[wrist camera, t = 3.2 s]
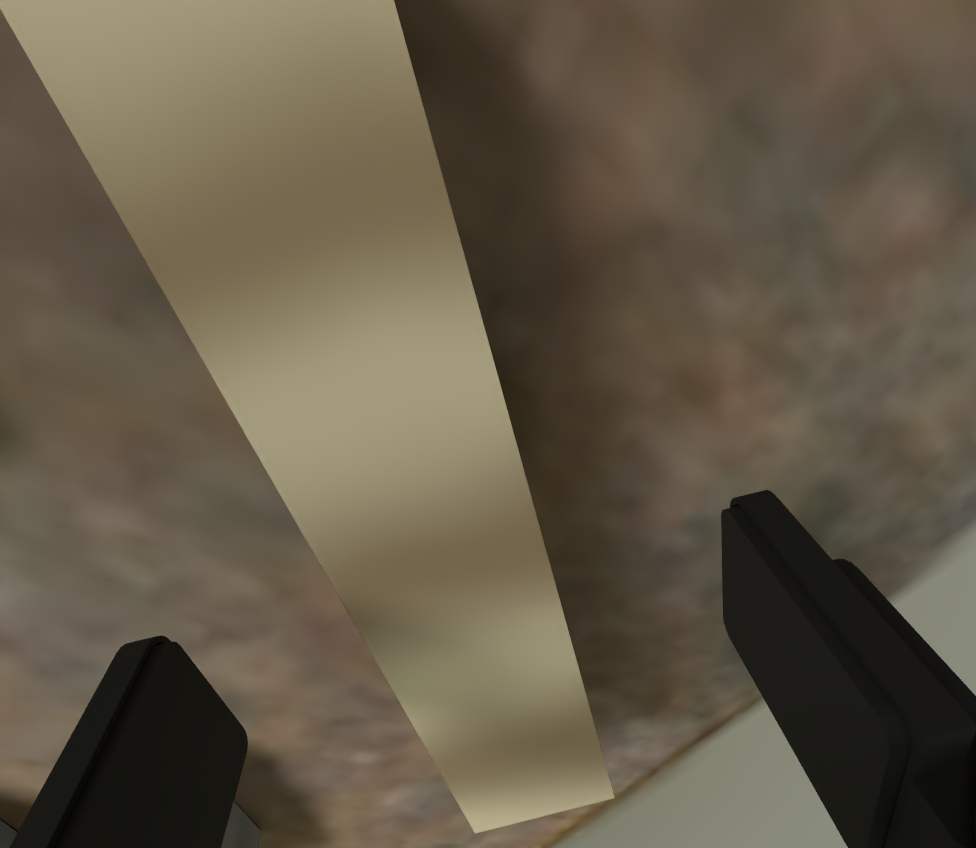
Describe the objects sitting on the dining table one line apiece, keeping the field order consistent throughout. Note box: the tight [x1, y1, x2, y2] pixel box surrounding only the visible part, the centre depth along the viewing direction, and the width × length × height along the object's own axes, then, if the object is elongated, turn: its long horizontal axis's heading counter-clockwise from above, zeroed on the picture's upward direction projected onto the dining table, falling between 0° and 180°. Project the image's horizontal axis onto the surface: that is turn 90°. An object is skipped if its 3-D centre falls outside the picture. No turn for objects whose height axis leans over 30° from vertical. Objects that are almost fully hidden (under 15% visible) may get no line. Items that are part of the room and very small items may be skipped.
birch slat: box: [0, 0, 615, 833], centre depth 12 cm, size 20×4×4 cm, turn 15°
